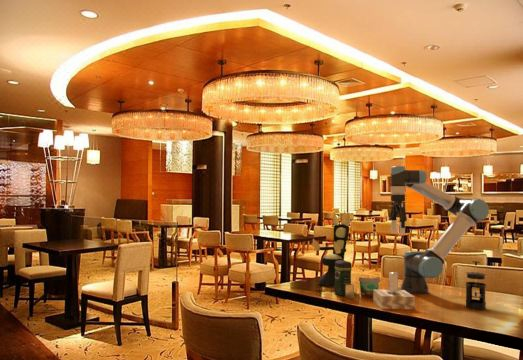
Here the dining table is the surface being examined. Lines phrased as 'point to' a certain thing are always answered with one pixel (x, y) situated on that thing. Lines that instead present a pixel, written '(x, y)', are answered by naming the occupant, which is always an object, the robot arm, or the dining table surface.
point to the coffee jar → (342, 276)
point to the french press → (471, 302)
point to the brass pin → (349, 291)
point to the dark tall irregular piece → (334, 249)
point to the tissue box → (393, 299)
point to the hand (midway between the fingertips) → (398, 233)
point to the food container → (368, 286)
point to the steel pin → (393, 283)
